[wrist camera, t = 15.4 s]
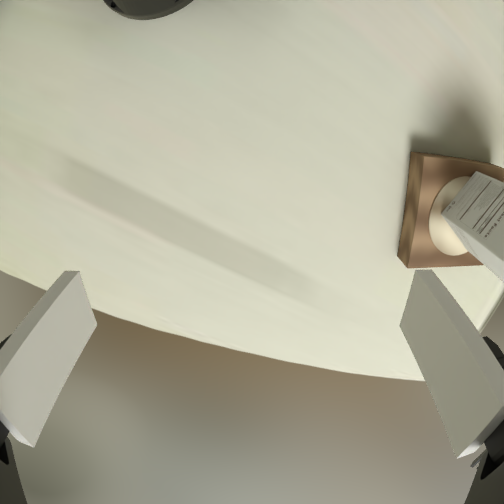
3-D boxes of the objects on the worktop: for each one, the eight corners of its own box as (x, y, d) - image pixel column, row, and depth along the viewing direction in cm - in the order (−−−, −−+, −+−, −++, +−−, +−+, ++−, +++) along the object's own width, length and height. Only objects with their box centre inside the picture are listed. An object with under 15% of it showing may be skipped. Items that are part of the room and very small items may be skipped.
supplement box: (500, 210, 37) (564, 252, 23) (466, 251, 40) (524, 305, 26) (476, 168, 34) (549, 202, 21) (438, 212, 37) (504, 263, 24)
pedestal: (410, 151, 38) (425, 156, 34) (490, 163, 38) (506, 169, 34) (397, 255, 45) (408, 269, 41) (473, 254, 45) (486, 265, 41)
